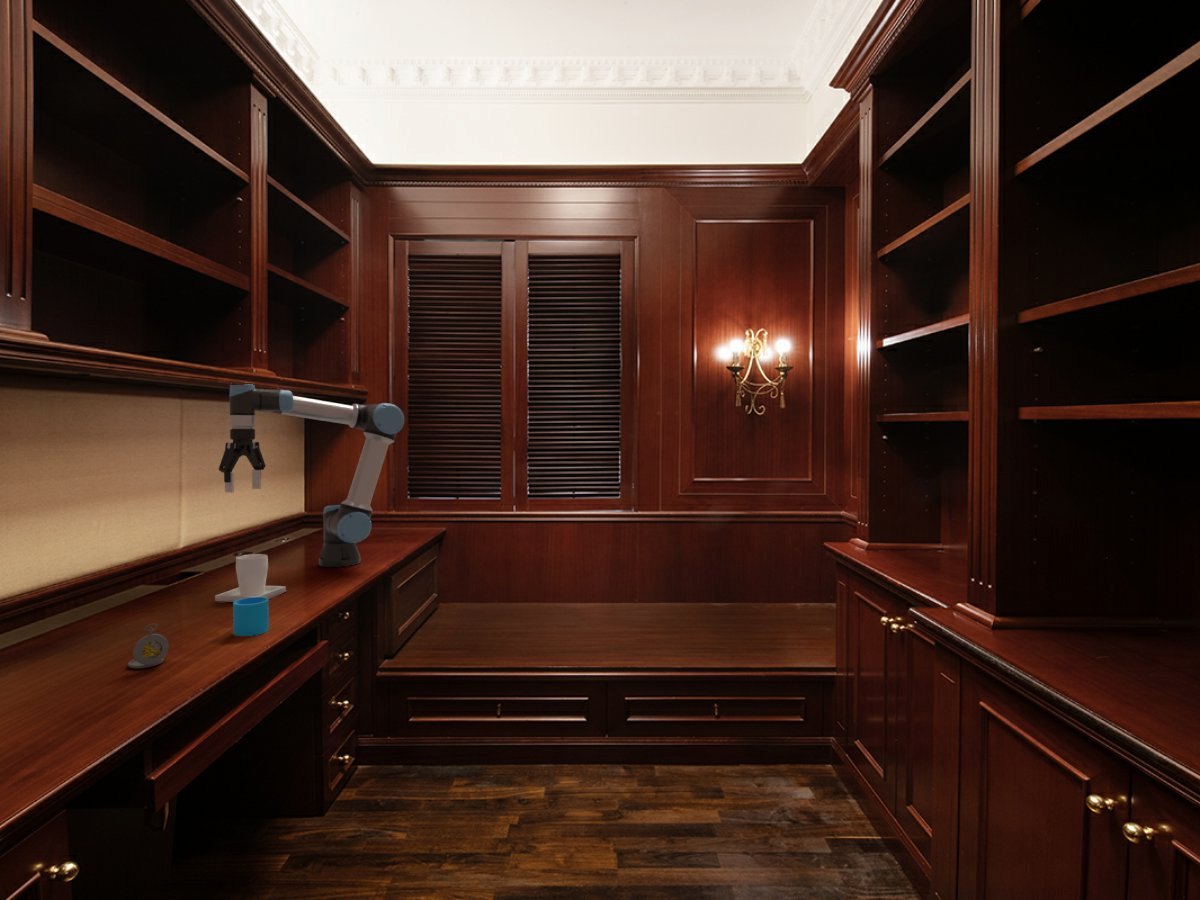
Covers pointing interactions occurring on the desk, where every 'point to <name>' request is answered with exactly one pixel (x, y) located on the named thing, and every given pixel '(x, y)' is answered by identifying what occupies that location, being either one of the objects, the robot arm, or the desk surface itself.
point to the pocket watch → (149, 650)
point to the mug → (251, 616)
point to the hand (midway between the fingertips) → (243, 490)
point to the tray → (235, 595)
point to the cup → (252, 574)
